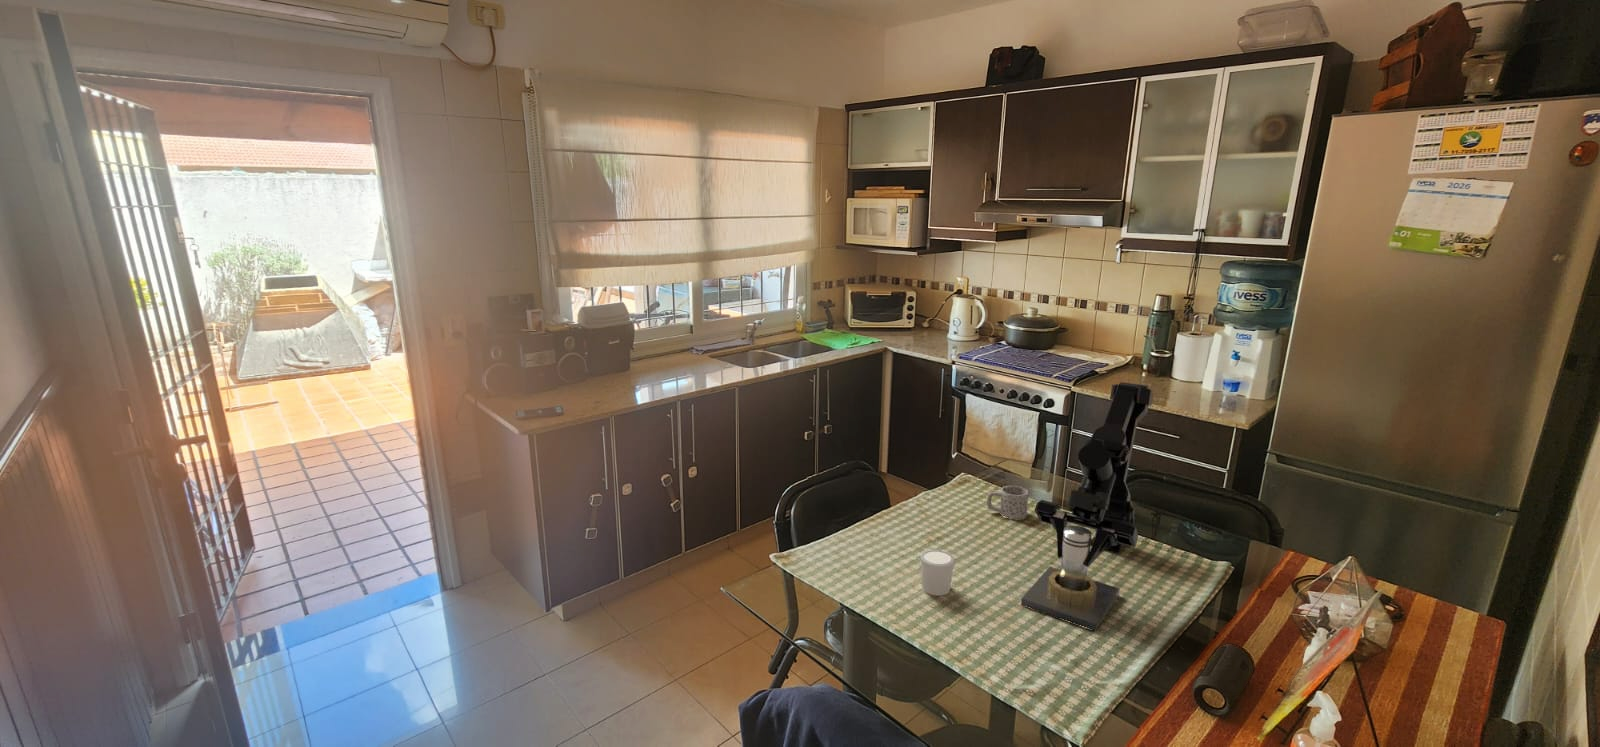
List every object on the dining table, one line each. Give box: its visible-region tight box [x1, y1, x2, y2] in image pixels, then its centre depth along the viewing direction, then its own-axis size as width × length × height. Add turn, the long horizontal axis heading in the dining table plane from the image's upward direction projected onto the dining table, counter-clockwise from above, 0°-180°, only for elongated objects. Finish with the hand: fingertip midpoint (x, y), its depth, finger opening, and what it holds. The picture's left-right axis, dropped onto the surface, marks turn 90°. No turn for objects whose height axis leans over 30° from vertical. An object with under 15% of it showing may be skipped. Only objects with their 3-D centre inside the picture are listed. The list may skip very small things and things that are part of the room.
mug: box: [986, 485, 1029, 520], centre depth 173 cm, size 10×7×7 cm, turn 77°
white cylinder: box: [919, 549, 956, 597], centre depth 137 cm, size 7×7×7 cm
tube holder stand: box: [1020, 566, 1121, 632], centre depth 133 cm, size 16×14×4 cm
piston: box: [1059, 525, 1093, 591], centre depth 132 cm, size 5×5×12 cm
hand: (1072, 561), depth 131 cm, fingers closed on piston, 5 cm apart
